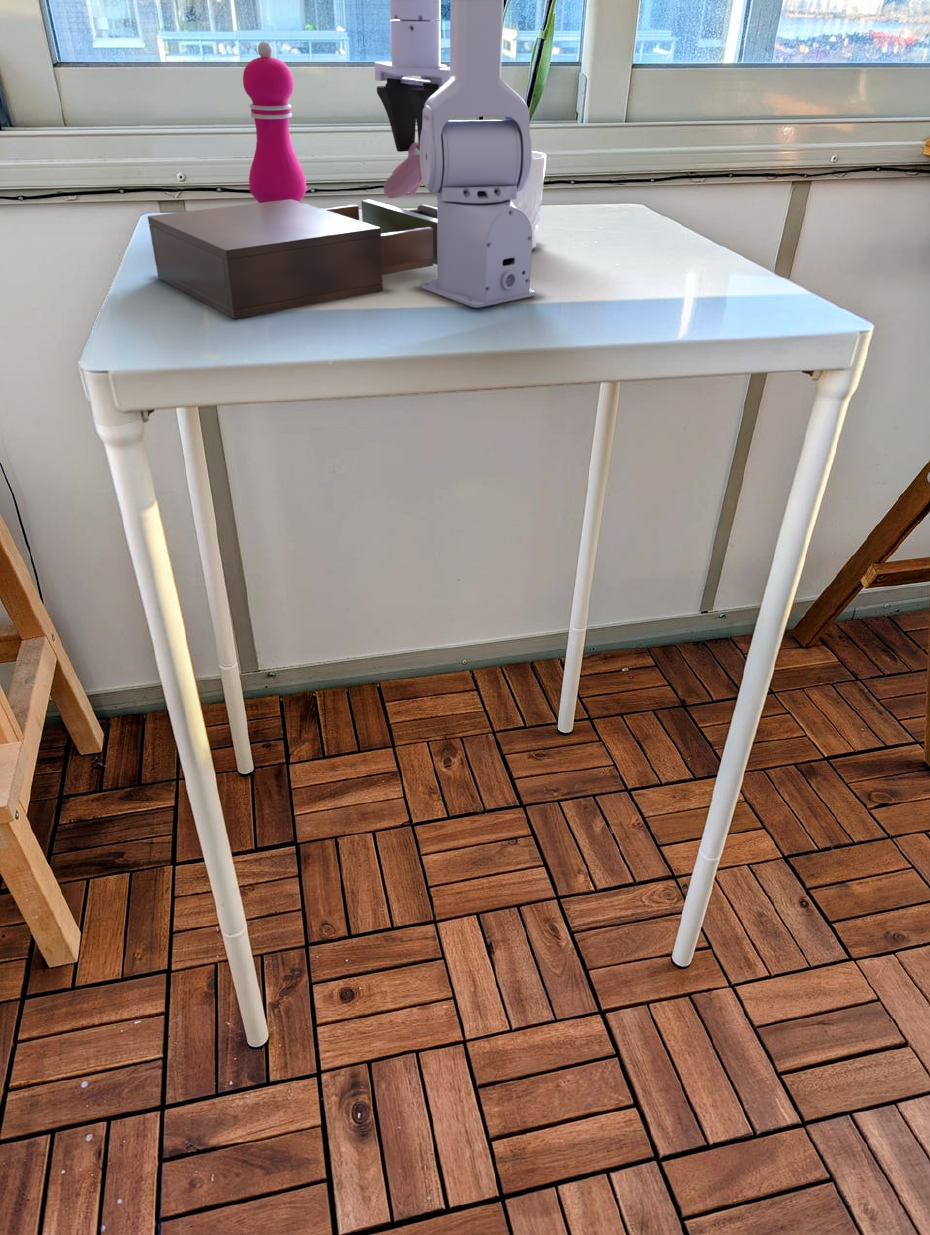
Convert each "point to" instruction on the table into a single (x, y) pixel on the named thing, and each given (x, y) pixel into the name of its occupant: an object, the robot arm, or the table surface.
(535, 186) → the white cup
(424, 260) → the drawer
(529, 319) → the table surface
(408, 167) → the video game controller
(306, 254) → the cabinet
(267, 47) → the pepper mill
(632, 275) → the table surface
